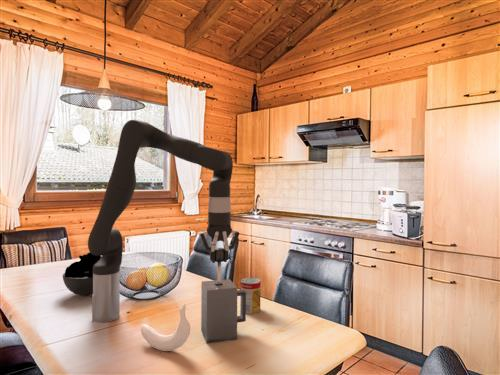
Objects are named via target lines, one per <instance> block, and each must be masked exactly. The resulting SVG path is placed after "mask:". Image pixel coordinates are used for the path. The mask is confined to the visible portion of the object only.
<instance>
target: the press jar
mask: <svg viewBox="0 0 500 375" xmlns="http://www.w3.org/2000/svg"><path fill="white" fill-rule="evenodd" d="M200 294H201V295H200V296H201V297H200V298H201V300H200V301H201V305H200V306H201V309H200V310H201V311H200V314H201V315H200V316H201V318H200V321H201V322H200V324H201V325H200V326H201V327H200V328H201V330H200V331H201V333H202V335H203V338H204V341H205V342H206V344H211V343H213V344H214V343H220V342H227V341H234V340H235V341H236V340H238V323H245V322H246V321H247V320H246V319H247V316H246V315H247V314H246V292H245V291H244V290H241V289H238V287H237V286H236V284H235V283H234V282H233V281H232V280H231V279H221V286H217V279H215V280H206V281H205V280H204V281H203V280H202V281H201V293H200ZM238 297H240V306H239V308H240V311H239V312H240V314H239V315H238Z"/></svg>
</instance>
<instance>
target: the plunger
mask: <svg viewBox="0 0 500 375" xmlns="http://www.w3.org/2000/svg"><path fill="white" fill-rule="evenodd" d="M214 252H215V263H216V264H217V267H216V268H217V269H216V273H217V274H216V275H217V277H216V278H217V279H216V280H217V286H221V280H222V272H221V271H222V263H223V262H224V247H215V250H214Z"/></svg>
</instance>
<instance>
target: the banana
mask: <svg viewBox="0 0 500 375" xmlns="http://www.w3.org/2000/svg"><path fill="white" fill-rule="evenodd" d="M178 311H179V321H178V324H177V327H176V329H175V331H174V332H172V333H171V334H169V335H168V334H167V335H164V334H161V333H159V332H158V331H157V330H156V329H154V328H153V327H151V326H149V324H146V323H144V324H142V325H141V326H140V332H141V335H142V337H143V339H144V340H145V341H146V342H147V344H148V345H149V346H151V347H152V348H154V349H155V350H158V351H162V352H171V351H175V350H178V349H180V348H181V347H182V346H183V345H184V344H185V343H186V342H187V341H188V338H189V336H190V334H191V325H190V322H189V320H188V319H187V317H186V303H184V304H183V306H182V307H180V308H179V310H178Z"/></svg>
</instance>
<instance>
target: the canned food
mask: <svg viewBox="0 0 500 375" xmlns="http://www.w3.org/2000/svg"><path fill="white" fill-rule="evenodd" d="M261 284H262V283H261V279H260V278H256V277H244V278H242V279H240V290H244V291H245V292H246V315H255V314H258V313H260V311H261Z"/></svg>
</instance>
